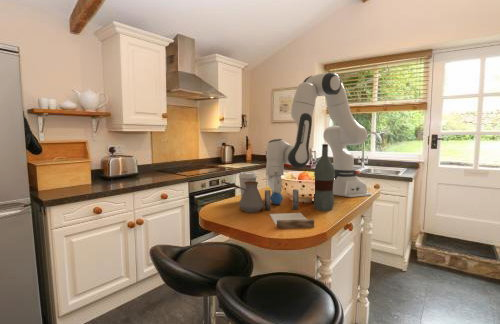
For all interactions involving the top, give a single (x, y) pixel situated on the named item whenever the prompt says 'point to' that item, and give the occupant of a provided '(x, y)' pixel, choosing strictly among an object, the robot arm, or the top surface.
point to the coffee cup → (246, 179)
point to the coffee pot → (249, 197)
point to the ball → (276, 198)
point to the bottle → (324, 182)
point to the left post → (267, 200)
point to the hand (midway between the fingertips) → (274, 198)
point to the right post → (295, 199)
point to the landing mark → (286, 217)
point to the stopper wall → (295, 223)
